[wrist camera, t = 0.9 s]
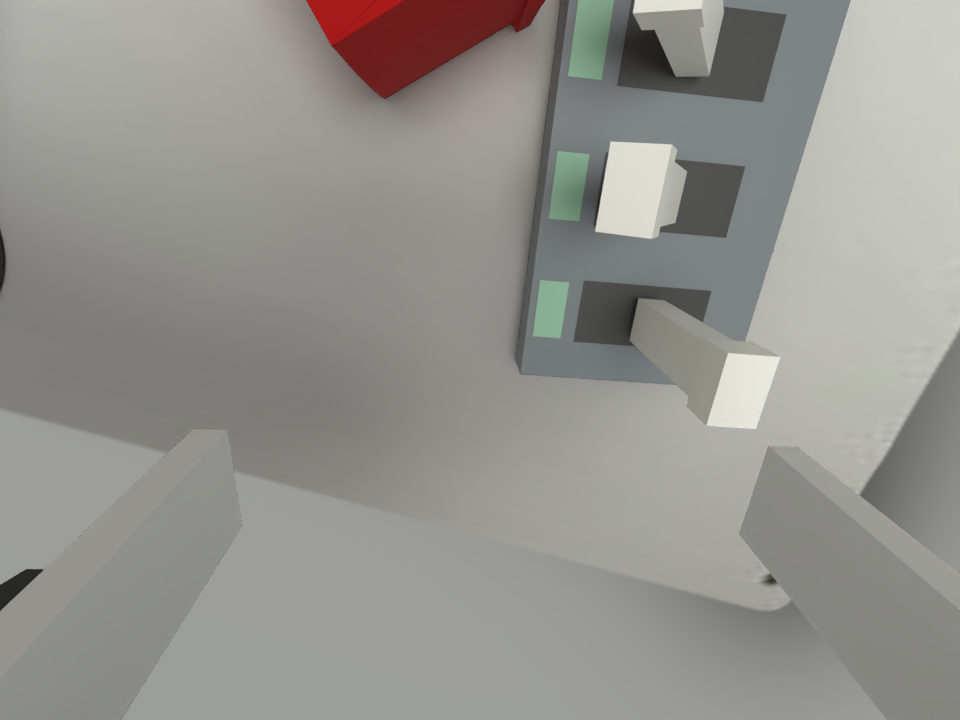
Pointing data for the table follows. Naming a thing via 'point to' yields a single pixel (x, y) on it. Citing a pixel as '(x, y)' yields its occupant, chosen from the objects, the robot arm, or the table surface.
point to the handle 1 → (684, 31)
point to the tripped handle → (705, 364)
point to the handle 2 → (640, 189)
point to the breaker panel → (700, 151)
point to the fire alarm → (412, 33)
